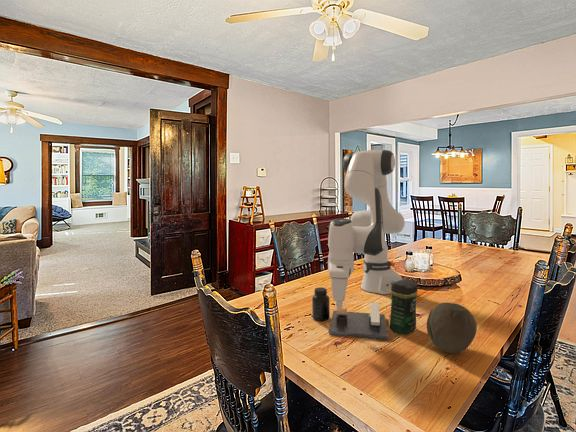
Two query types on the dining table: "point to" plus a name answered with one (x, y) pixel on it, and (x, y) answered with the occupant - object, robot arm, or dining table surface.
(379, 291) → the robot arm
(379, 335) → the panel
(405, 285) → the coffee jar
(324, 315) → the supplement bottle
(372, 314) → the paddle
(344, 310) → the paddle
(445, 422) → the dining table surface
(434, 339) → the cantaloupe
